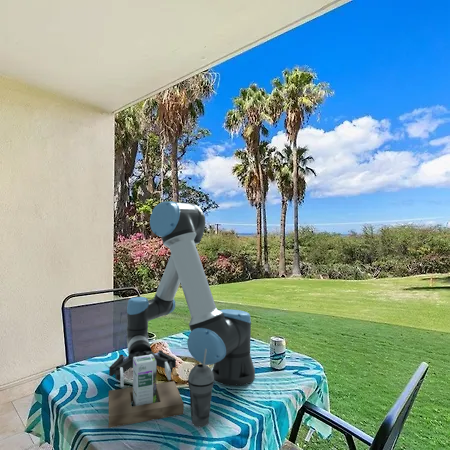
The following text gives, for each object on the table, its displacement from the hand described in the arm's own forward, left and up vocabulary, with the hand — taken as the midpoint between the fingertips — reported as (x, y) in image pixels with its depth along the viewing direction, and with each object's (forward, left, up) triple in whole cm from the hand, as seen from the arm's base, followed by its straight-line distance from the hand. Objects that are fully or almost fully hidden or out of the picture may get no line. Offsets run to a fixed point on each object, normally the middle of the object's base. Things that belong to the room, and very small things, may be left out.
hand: (146, 378), depth 94 cm
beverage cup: (-16, -1, -10) cm, 19 cm away
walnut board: (+2, -3, -10) cm, 11 cm away
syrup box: (+2, -3, -10) cm, 11 cm away
